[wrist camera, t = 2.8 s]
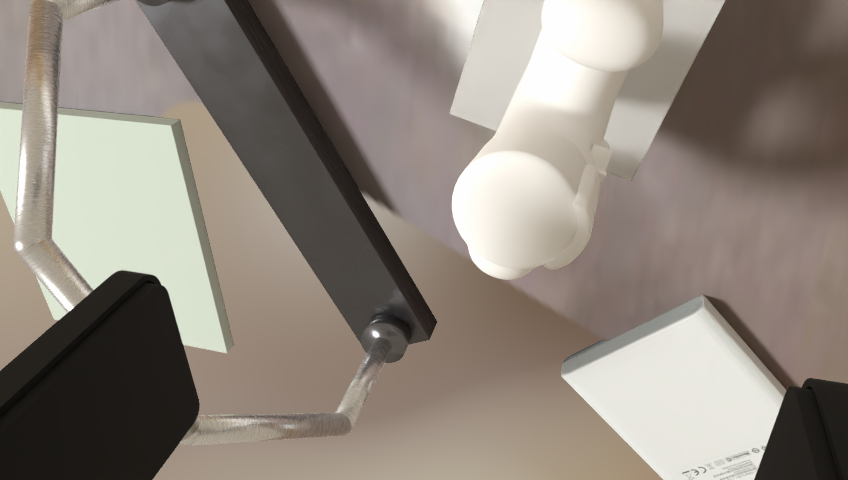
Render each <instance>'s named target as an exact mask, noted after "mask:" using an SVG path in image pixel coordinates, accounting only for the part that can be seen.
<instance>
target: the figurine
mask: <svg viewBox="0 0 848 480" xmlns="http://www.w3.org/2000/svg"><path fill="white" fill-rule="evenodd" d="M724 2H725V0H484V1H483V5H482V8H481V11H480V15H479V18H478V21H477V24H476V28H475V31H474V34H473V38H472V41H471V44H470V48H469V51H468V54H467V57H466V61H465V64H464V67H463V71H462V74H461V77H460V81H459V84H458V87H457V90H456V94H455V97H454V100H453V104H452V107H451V110H450V114H452V115H454V116H457V117H460V118H463V119H465V120H468V121H471V122H473V123H476V124H479V125H481V126H484V127H487V128H489V129H492V130H495V131H497V132H496V134H495V136H494V137H493V138H492V139H491V140H490V141H489V142H488V143H487V144H486V145H485V146H484V147H483V148H482V149H481V151H480V152H479V153H478V154H477V155H476V157H475V158H474V159H473V160H472V161H471V163H470V164H469V165H468V166H467V168H466V169H465V170H464V171H463V173H462V174H461V175H460V177H459V179H458V181H457V183H456V185H455V188H454V192H453V197H452V211H453V218H454V221H455V224H456V227H457V229H458V231H459V233H460V235H461V236H462V238H463V239H464V241H465V242H466V243H467V245H468V249H469V253H470V256H471V258H472V260H473V262H474V263H475V264H476V265H477V267H479V268H480V269H481V270H482V271H483V272H485V273H487V274H488V275H491V276H493V277H496V278H499V279H517V278H520V277H522V276H525V275H526V274H528V273H529V272H530V271H532V270H533V269H534V268H535V267H537V266H541V265H544V266H545V267H546V268H549V269H552V270H554V269H558V268H560V267H563V266H565V265H568V264H569V263H570V262H571V261H573V260H574V259H575V258H576V257H577V256H578V255H579V254H580V253H582V251H583V250H584V248H585V247H586V245H587V244H588V241H589V239H590V236H591V234H592V230H593V229H592V228H593V223H594V218H595V213H596V208H597V203H598V198H599V193H600V184H601V183H602V181H603V180H604V178H605V177H606V172H608V173H610V174H613V175H616V176H619V177H621V178H624V179H627V180H629V181H632V179H633V177H634V175H635V173H636V172H637V170H638V168H639V166H640V164H641V162H642V160H643V158H644V156H645V154H646V152H647V150H648V148H649V146H650V145H651V143H652V141H653V139H654V137H655V135H656V133H657V131H658V129H659V127H660V125H661V123H662V121H663V119H664V118H665V116H666V114H667V112H668V110H669V108H670V106H671V104H672V102H673V100H674V98H675V96H676V94H677V93H678V91H679V89H680V87H681V85H682V83H683V81H684V79H685V77H686V75H687V73H688V71H689V69H690V67H691V66H692V64H693V62H694V60H695V58H696V56H697V54H698V52H699V50H700V48H701V46H702V44H703V42H704V40H705V39H706V37H707V35H708V33H709V31H710V29H711V27H712V25H713V23H714V21H715V19H716V17H717V15H718V14H719V12H720V10H721V8H722V6H723V4H724Z"/></svg>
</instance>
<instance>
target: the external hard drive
mask: <svg viewBox="0 0 848 480" xmlns="http://www.w3.org/2000/svg"><path fill="white" fill-rule="evenodd" d="M561 375H562V377H563V378H564V379H565V380H566V381H567V382H568V383H569V384H570V385H571V386H572V387H573V388H574V390H575V391H577V392H578V394H580V395H581V396H582V397H583V398H584V399H585V401H586V402H587V403H588V404H589V405H591V407H592V408H593V409H594V410H595V411H596V412H597V413H598V414H599V415H600V416H601V417H602V418H603V419H604V420H605V421H606V422H607V423H608V424H609V425H610V426H611V427H612V428H613V429H614V430H615V431H616V432H617V433H618V434H619V435H620V436H621V437H622V438H623V439H624V440H625V441H626V442H627V443H628V444H629V445H630V446H631V447H632V448H633V449H634V450H635V451H636V452H637V453H638V454H639V455H640V456H641V457H642V458H643V459H644V460H645V461H646V462H647V463H648V464H649V465H650V466H651V467H652V468H653V469H654V470H655V471H656V472H657V473H658V475H659V476H660V477H662V479H663V480H754V479H755V476H756V473H757V470H758V468H759V465H760V462H761V459H762V457H763V454H764V451H765V448H766V445H767V443H768V440H769V437H770V434H771V432H772V429H773V426H774V423H775V421H776V418H777V415H778V412H779V409H780V407H781V404H782V401H783V398H784V396H785V393H786V391H787V390H786V389H785V388H784V387H783V386H782V385H781V383H780V382H779V381H778V380H777V379H776V378H775V377H774V375H773V374H772V373H771V372H770V371H769V370H768V369H767V367H766V366H765V365H764V364H763V363H762V362H761V360H760V359H759V358H758V357H757V356H756V355H755V353H754V352H753V351H752V350H751V349H750V348H749V347H748V345H747V344H746V343H745V342H744V341H743V340H742V338H741V337H740V336H739V335H738V334H737V333H736V332H735V330H734V329H733V328H732V327H731V326H730V325H729V324H728V322H727V321H726V320H725V319H724V318H723V317H722V315H721V314H720V313H719V312H718V311H717V310H716V309H715V307H714V306H713V305H712V304H711V303H710V302H709V300H708V299H707V298H706V297H705V296H704V295H701V296H699V297H697V298H695V299H693V300H691V301H689V302H687V303H685V304H683V305H681V306H679V307H677V308H675V309H673V310H670V311H668V312H666V313H664V314H662V315H660V316H658V317H656V318H654V319H652V320H650V321H648V322H646V323H644V324H642V325H640V326H638V327H636V328H634V329H632V330H630V331H628V332H626V333H624V334H622V335H619V336H617V337H615V338H613V339H611V340H609V341H605V340H604V339H602V340H600V341H598V342H596V343H594V344H592V345H590V346H588V347H586V348H584V349H582V350H580V351H578V352H576V353H574V354H572V355H571V356H569V357H568V358H567V359H565V360H564V362H563V365H562V372H561Z"/></svg>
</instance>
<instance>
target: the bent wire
mask: <svg viewBox="0 0 848 480" xmlns="http://www.w3.org/2000/svg"><path fill="white" fill-rule="evenodd" d="M116 1H118V0H31V2H30V8H29V22H28V37H27V51H26V66H25V80H24V95H23V109H22V124H21V138H20V153H19V168H18V182H17V197H16V211H15V227H14V240H13V246H14V250H15V251H16V253H17V254H18V255H19V256H20V258H21V259H22V260H23V261H24V262H25V264H26V265H27V266H28V267H29V268H30V269H31V270H32V272H33V273H34V274H35V275H36V277H37V278H38V279H39V280H40V281H41V282H42V284H43V285H44V286H45V287H46V288H47V289H48V291H49V292H50V293H51V294H52V295H53V297H54V298H55V299H56V300H57V301H58V302H59V304H60V305H61V306H62V307H63V308H64V309H65V311H66V312H67V313H68V312H69V311H70V310H71V309H73V308H74V307H75V306H76V305H77V304H78V303H79V302H81V301H82V300H83V299H84V298H85V297H86V296H88V295H89V294H90V293H91V292H92V291H93V288H92V287H91V286H90V285H89V284H88V282H87V281H86V280H85V279H84V277H83V276H82V275H81V274H80V273H79V271H78V270H77V269H76V268H75V266H74V265H73V264H72V263H71V262H70V260H69V259H68V258H67V257H66V255H65V254H64V253H63V252H62V251H61V249H60V248H59V247H58V246H57V244H56V243H55V242H54V241H53V240H52V226H53V206H54V186H55V166H56V146H57V126H58V106H59V86H60V66H61V46H62V26H63V20H66V19H69V18H72V17H74V16H77V15H80V14H83V13H85V12H88V11H91V10H94V9H96V8H99V7H102V6H105V5H107V4H110V3H113V2H116ZM136 2H137V3H138V5H139V6H140V8H141V9H142V11H143V12H144V14H145V15H146V17H147V18H148V20H149V21H150V23H151V25H152V26H153V28H154V29H155V31H156V32H157V34H158V35H159V37H160V38H161V40H162V41H163V43H164V44H165V46H166V47H167V49H168V50H169V52H170V53H171V55H172V57H173V58H174V60H175V61H176V63H177V64H178V66H179V67H180V69H181V70H182V72H183V73H184V75H185V76H186V78H187V79H188V81H189V82H190V84H191V85H192V87H193V88H194V90H195V92H196V93H197V95H198V96H199V98H200V99H201V101H202V102H203V104H204V105H205V107H206V108H207V110H208V111H209V113H210V114H211V116H212V117H213V119H214V120H215V122H216V123H217V125H218V127H219V128H220V129H221V131H222V132H223V134H224V136H225V137H226V139H227V140H228V142H229V143H230V145H231V146H232V148H233V149H234V151H235V152H236V154H237V156H238V157H239V158H240V160H241V162H242V163H243V165H244V166H245V168H246V169H247V171H248V172H249V174H250V175H251V177H252V178H253V180H254V181H255V183H256V184H257V186H258V187H259V189H260V190H261V192H262V193H263V195H264V197H265V198H266V200H267V201H268V202H269V204H270V206H271V207H272V209H273V210H274V212H275V213H276V215H277V216H278V218H279V219H280V221H281V222H282V224H283V225H284V227H285V229H286V230H287V232H288V233H289V235H290V236H291V238H292V239H293V241H294V242H295V244H296V245H297V247H298V248H299V250H300V251H301V253H302V255H303V256H304V258H305V259H306V261H307V262H308V264H309V265H310V267H311V268H312V270H313V271H314V273H315V274H316V276H317V277H318V279H319V280H320V282H321V283H322V285H323V287H324V288H325V290H326V291H327V293H328V294H329V296H330V297H331V299H332V300H333V302H334V303H335V305H336V306H337V308H338V309H339V311H340V312H341V314H342V315H343V317H344V318H345V320H346V321H347V323H348V325H349V326H350V327H351V329H352V331H353V332H354V333H355V335H356V337H357V338H358V340H359V341H360V343H361V344H362V347H363V348H364V350H365V351H366V353H367V355H366V357H365V358H364V360H363V362H362V364H361V366H360V368H359V370H358V372H357V373H356V375H355V377H354V379H353V381H352V383H351V385H350V387H349V389H348V391H347V392H346V394H345V396H344V398H343V400H342V402H341V403H340V406H339V407H338V409H337V411H336V413H307V414H306V413H304V414H250V415H249V414H248V415H198V416H197V418H196V421H195V422H194V424H193V425H192V427H191V428H190V429H189V431H188V432H187V433H186V435H185V436H184V437H183V439H182V440H181V442H180V443H179V444H182V445H186V446H188V445H204V444H220V443H236V442H251V441H268V440H282V439H298V438H315V437H331V436H344V435H347V434H348V433H350V431H351V430H352V428H353V426H354V424H355V422H356V420H357V418H358V416H359V414H360V412H361V410H362V408H363V406H364V404H365V402H366V400H367V397H368V395H369V393H370V391H371V389H372V387H373V385H374V383H375V381H376V379H377V377H378V375H379V373H380V371H381V369H382V367H383V365H384V363H385V362H386V363H392V362H396V361H398V360H400V359H401V358H402V357H403V355H404V353H405V351H406V349H407V346H408V344H413V343H417V342H421V341H426V340H429V339H430V337H431V335H432V332H433V330H434V328H435V325H436V323H437V321H436V319H435V317H434V315H433V314H432V312H431V310H430V309H429V307H428V305H427V304H426V302H425V300H424V299H423V297H422V295H421V294H420V292H419V290H418V289H417V287H416V285H415V283H414V282H413V280H412V278H411V277H410V275H409V273H408V272H407V270H406V268H405V266H404V265H403V263H402V261H401V260H400V258H399V256H398V255H397V253H396V251H395V250H394V248H393V246H392V245H391V243H390V241H389V239H388V238H387V236H386V234H385V233H384V231H383V229H382V228H381V226H380V224H379V223H378V221H377V219H376V217H375V216H374V214H373V213H372V211H371V209H370V207H369V206H368V204H367V202H366V201H365V199H364V197H363V196H362V194H361V192H360V190H359V189H358V187H357V185H356V184H355V182H354V180H353V179H352V177H351V175H350V174H349V172H348V170H347V168H346V167H345V165H344V163H343V162H342V160H341V158H340V157H339V155H338V153H337V152H336V150H335V148H334V147H333V145H332V143H331V141H330V140H329V138H328V136H327V135H326V133H325V131H324V130H323V128H322V126H321V125H320V123H319V121H318V120H317V118H316V116H315V114H314V113H313V111H312V109H311V108H310V106H309V104H308V103H307V101H306V99H305V98H304V96H303V94H302V92H301V91H300V89H299V87H298V86H297V84H296V82H295V81H294V79H293V77H292V76H291V74H290V72H289V71H288V69H287V67H286V65H285V64H284V62H283V60H282V59H281V57H280V55H279V54H278V52H277V50H276V49H275V47H274V45H273V43H272V42H271V40H270V38H269V37H268V35H267V33H266V32H265V30H264V28H263V27H262V25H261V23H260V22H259V20H258V18H257V16H256V15H255V13H254V11H253V10H252V8H251V6H250V5H249V3H248V1H247V0H136Z"/></svg>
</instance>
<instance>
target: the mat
mask: <svg viewBox="0 0 848 480" xmlns="http://www.w3.org/2000/svg"><path fill="white" fill-rule="evenodd" d="M22 109H23V104H16V103H6V102H0V191H1V193H2V196H3V198H4V201H5V203H6V205H7V208H8V210H9V212H10V215H11V217H12V220H13V222H14V225H15V211H16V197H17V182H18V168H19V153H20V138H21V124H22ZM52 240H53V241H54V242H55V243H56V244H57V246H58V247H59V248H60V249H61V251H62V252H63V253H64V254H65V255H66V257H67V258H68V259H69V260H70V262H71V263H72V264H73V265H74V266H75V268H76V269H77V270H78V271H79V273H80V274H81V275H82V276H83V277H84V279H85V280H86V281H87V282H88V284H89V285H90V286H91V287H92V288H93V290H95V289H96V288H97V287H98V286H99V285H100V284H101V283H103V282H104V281H105V280H106V279H107V278H108V277H110V276H111V275H112V274H114V273H115V272H117V271H121V270H125V271H132V272H138V273H145V274H151V275H154V276H156V277H157V278H158V279H159V281H160V283H161V285H162V286H164V287H165V288H166V289H167V291H168V293H169V297H170V301H171V304H172V308H173V311H174V315H175V318H176V322H177V325H178V329H179V332H180V336H181V339H182V343H183V345H188V346H193V347H198V348H203V349H208V350H213V351H219V352H224V353H228V351H229V350H230V349H231V348H232V346H233V345H234V344H233V339H232V336H231V331H230V327H229V323H228V318H227V314H226V310H225V306H224V302H223V298H222V293H221V289H220V285H219V281H218V277H217V272H216V268H215V264H214V260H213V255H212V251H211V247H210V243H209V239H208V234H207V230H206V226H205V222H204V218H203V214H202V209H201V205H200V201H199V197H198V192H197V188H196V184H195V180H194V176H193V172H192V168H191V163H190V159H189V155H188V150H187V147H186V142H185V138H184V134H183V130H182V126H181V122H180V119H170V118H160V117H150V116H139V115H129V114H119V113H109V112H98V111H88V110H78V109H68V108H58V126H57V146H56V166H55V186H54V206H53V226H52ZM37 280H38V282H39V284H40V287H41V289H42V292H43V294H44V296H45V299H46V301H47V304H48V306H49V308H50V311H51V313H52V316H53V318H54V319H55V320H60V319H61V318H62V317H63V316H64V315H66V314H67V312H66V311H65V309H64V308H63V307H62V306H61V305H60V304H59V302H58V301H57V300H56V299H55V298H54V297H53V295H52V294H51V293H50V292H49V291H48V289H47V288H46V287H45V286H44V285H43V284H42V282H41V281H40V280H39V279H38V278H37Z"/></svg>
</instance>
